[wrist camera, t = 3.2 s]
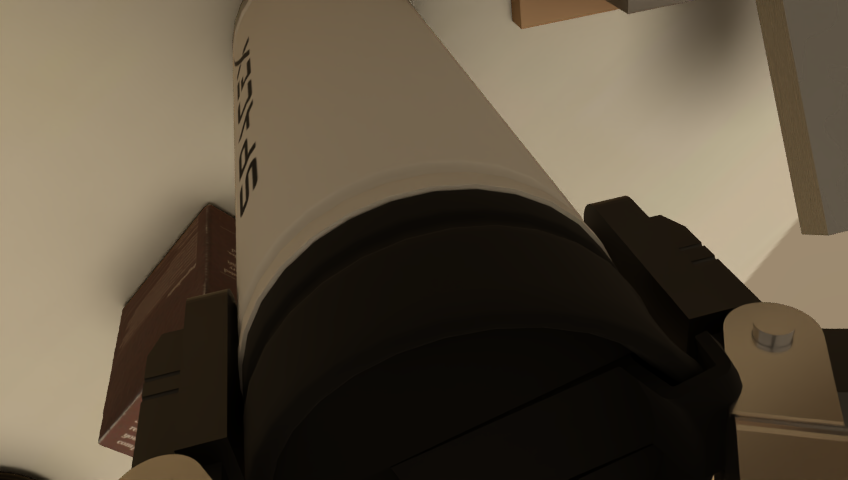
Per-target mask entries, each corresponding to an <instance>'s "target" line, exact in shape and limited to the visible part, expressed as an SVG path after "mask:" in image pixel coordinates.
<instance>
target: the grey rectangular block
mask: <svg viewBox="0 0 848 480" xmlns="http://www.w3.org/2000/svg"><path fill="white" fill-rule="evenodd" d="M756 5H757V10H758V15H759V20H760V25H761V30H762V35H763V40H764V45H765V50H766V55H767V60H768V66H769V71H770V76H771V81H772V86H773V91H774V96H775V101H776V106H777V111H778V116H779V121H780V126H781V131H782V136H783V141H784V146H785V152H786V157H787V162H788V167H789V172H790V177H791V182H792V187H793V192H794V197H795V202H796V207H797V212H798V217H799V222H800V227H801V233H802V234H807V235H832V234H836V233H840V232H844V231H848V0H756Z"/></svg>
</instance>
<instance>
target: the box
mask: <svg viewBox="0 0 848 480" xmlns="http://www.w3.org/2000/svg"><path fill="white" fill-rule="evenodd" d="M225 289H230V290H231V291H232V293H233V295H234V298H235V301H236V304H237V268H236V219H235V218H233V217H231V216H229V215H228V214H226V213H224V212H222V211H221V210H219V209H217V208H216V207H214V206H213V205H207V206H206V207H205V208H203V210H202V211H201V213H200V214H199V215H198V216H197V218H196V219H195V220H194V221H193V222H192V224H191V225H190V226H189V227H188V228H187V230H186V231H185V233H184V234H183V235H182V236H181V237H180V238H179V240H178V241H177V242H176V244H175V245H174V246H173V247H172V249H171V250H170V251H169V252H168V254H167V255H166V256H165V257H164V259H163V260H162V261H161V262H160V264H159V265H158V266H157V267H156V268H155V270H154V271H153V272H152V274H151V275H150V276H149V277H148V278H147V280H146V281H145V282H144V283H143V285H142V286H141V287H140V289H139V290H138V291H137V292H136V294H135V295H134V296H133V297H132V299H131V300H130V301H129V302H128V304H127V305H126V306H125V307H124V308H123V310H122V316H121V322H120V327H119V333H118V337H117V343H116V348H115V352H114V359H113V364H112V371H111V375H110V382H109V386H108V390H107V396H106V401H105V406H104V411H103V420H102V425H101V429H100V436H99V440H98V443H99V444H100V445H102V446H104V447H107V448H110V449H113V450H115V451H118V452H121V453H124V454H126V455H129V456H131V457H133V454H134V447H135V440H136V433H137V425H138V418H139V411H140V404H141V402H142V390H143V383H145V380H144V376H145V369H146V361H147V356H148V354H149V353H150V351H151V350H152V348H153V347H154V345H155V344H156V342H157V341H158V339H159V338H160V336H161V335H162V334H164V333H168V332H172V331H176V330H180V329H184V318H185V306H186V300H187V298H191V297H195V296H199V295H204V294H208V293H212V292H216V291H220V290H225Z"/></svg>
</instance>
